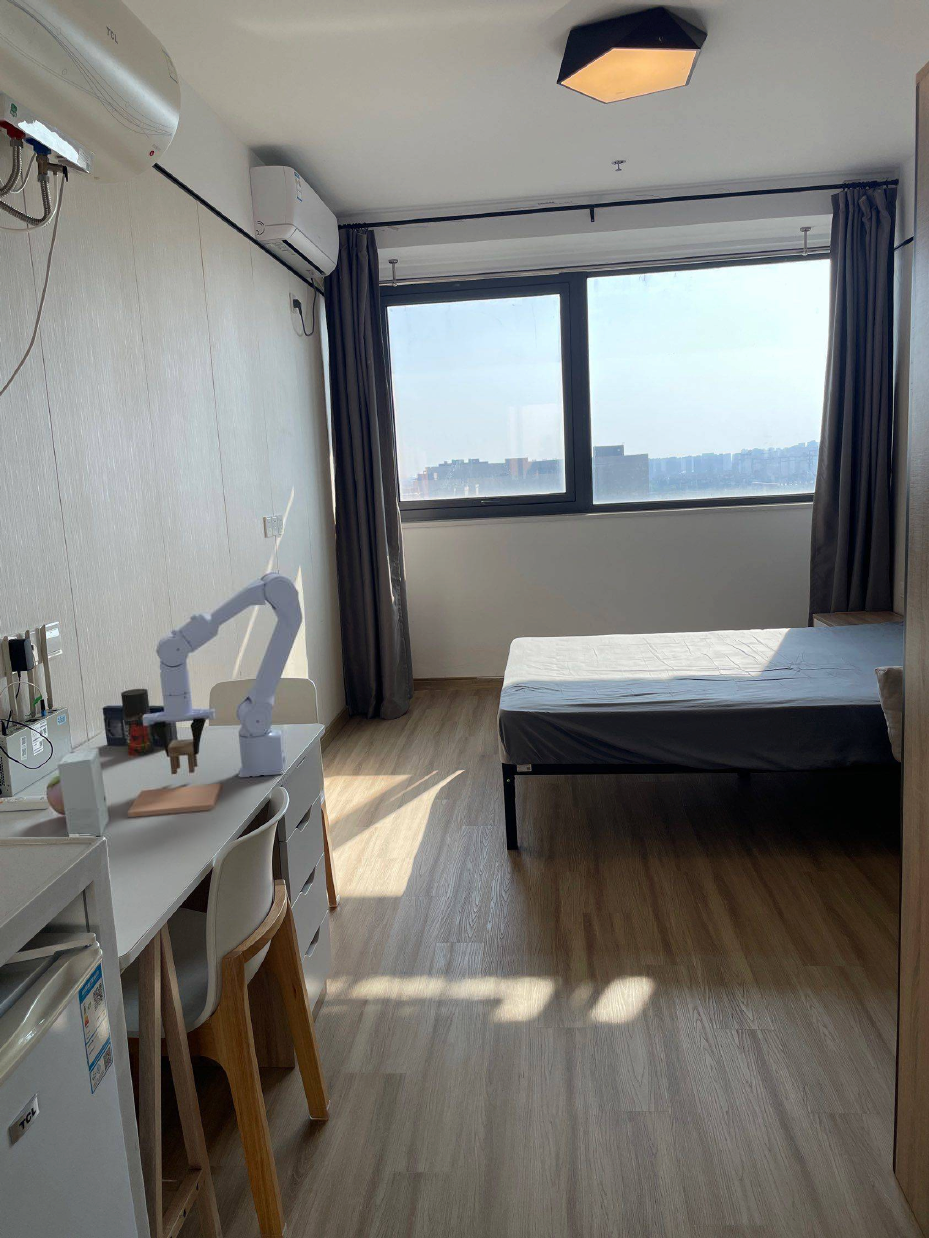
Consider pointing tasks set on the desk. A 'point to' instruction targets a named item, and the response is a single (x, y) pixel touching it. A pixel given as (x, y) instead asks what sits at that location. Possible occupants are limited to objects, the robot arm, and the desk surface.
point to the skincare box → (83, 792)
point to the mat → (175, 800)
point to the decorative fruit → (55, 795)
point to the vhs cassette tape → (117, 726)
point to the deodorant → (137, 722)
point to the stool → (182, 754)
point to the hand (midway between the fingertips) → (183, 754)
